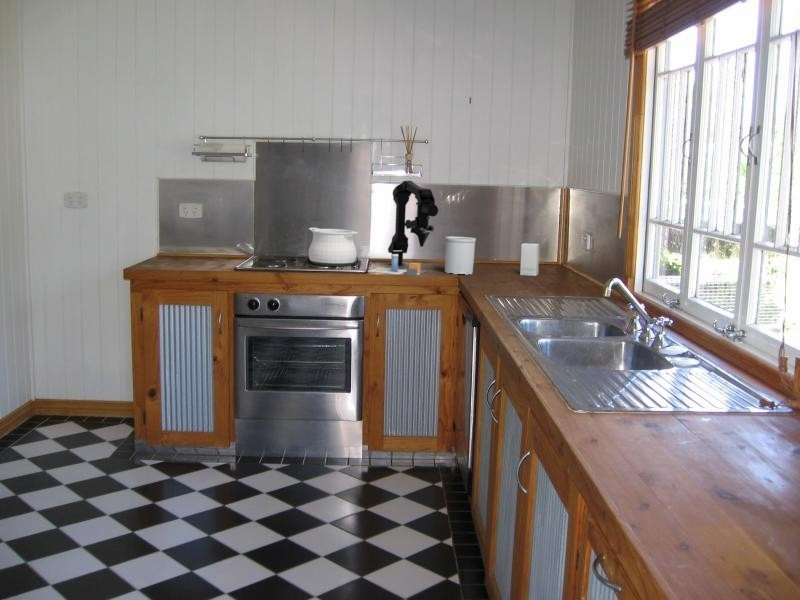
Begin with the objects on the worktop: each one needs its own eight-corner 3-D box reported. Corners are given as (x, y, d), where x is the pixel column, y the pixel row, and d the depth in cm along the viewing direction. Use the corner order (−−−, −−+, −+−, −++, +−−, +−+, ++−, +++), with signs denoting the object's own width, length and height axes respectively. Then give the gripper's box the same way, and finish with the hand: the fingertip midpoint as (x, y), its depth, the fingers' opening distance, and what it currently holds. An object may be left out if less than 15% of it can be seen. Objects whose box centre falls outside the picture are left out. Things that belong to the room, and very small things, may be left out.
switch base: (415, 271, 435) (416, 265, 434) (425, 272, 433) (425, 266, 433) (406, 274, 422) (406, 268, 421) (416, 275, 420) (416, 269, 420)
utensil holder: (448, 270, 446) (450, 235, 443) (477, 272, 441) (479, 237, 438) (439, 273, 432) (441, 237, 429) (469, 276, 427) (471, 240, 424)
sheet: (378, 268, 441) (378, 267, 441) (409, 271, 436) (409, 270, 436) (367, 271, 427) (367, 270, 427) (398, 274, 422) (398, 273, 422)
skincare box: (538, 274, 442) (540, 243, 439) (536, 276, 436) (538, 245, 433) (521, 273, 444) (523, 242, 442) (519, 275, 438) (521, 243, 436)
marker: (391, 270, 431) (391, 253, 430) (398, 270, 431) (398, 254, 430) (390, 271, 427) (391, 254, 426) (397, 271, 427) (398, 254, 426)
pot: (295, 263, 448) (296, 228, 445) (324, 259, 468) (325, 226, 466) (340, 269, 433) (342, 233, 430) (368, 264, 454) (369, 230, 451)
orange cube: (411, 270, 427) (411, 262, 427) (420, 271, 426) (420, 263, 425) (408, 271, 424) (409, 263, 423) (417, 272, 422) (417, 264, 422)
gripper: (413, 212, 440) (412, 244, 443) (400, 214, 423) (399, 247, 425) (434, 214, 436) (433, 245, 439) (423, 216, 419) (421, 249, 422)
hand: (421, 246), depth 431 cm, fingers closed
